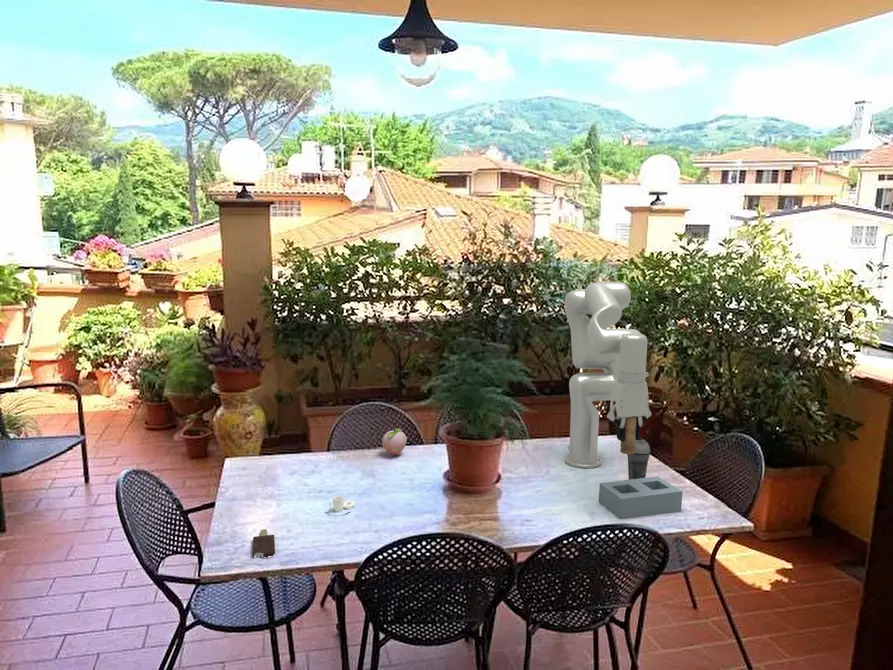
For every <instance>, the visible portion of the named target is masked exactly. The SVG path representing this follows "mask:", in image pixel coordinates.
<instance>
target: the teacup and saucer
mask: <svg viewBox="0 0 893 670" xmlns="http://www.w3.org/2000/svg"><path fill="white" fill-rule="evenodd" d="M344 500H345V498H344V496H341V495H337V496H334V497H332V500H330V501H329V502H328V506H330V507H331V505H333V507H331V508H330V509H332V510H333V511H334V512H336V511H341V512H343V510H344V508H345V510H349V509H350V508H352V509H353V508H354V507H355V505H356V503H355V501H354V500H350V499H349V500H346V501H344ZM331 503H332V504H331Z"/></svg>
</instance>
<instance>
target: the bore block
mask: <svg viewBox="0 0 893 670" xmlns="http://www.w3.org/2000/svg"><path fill="white" fill-rule="evenodd" d="M598 489H599V490H598V503H599V504H600V505H601V506H602V507H604V508H606V509H607V510H608V511H609V512H610V513H612V514H613V515H615V516H616V518H618V519H620V520H625V519H630V518H638V517H639V518H640V517H644V516H653V515H661V514H667V513H669V514H670V513H675V512H681V511H682V504H683V492H684V491H683V490H681V489H680V488H678V487H676V486H675V485H673V484H672V483H670V482H668V481H666V480H665V479H663V478H661V477H660V476H658V475H657V476H648V477H645V478H639V479H630V480H629V479H623V480H616V481H605V482H599V488H598Z"/></svg>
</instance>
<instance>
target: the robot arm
mask: <svg viewBox="0 0 893 670" xmlns="http://www.w3.org/2000/svg"><path fill="white" fill-rule="evenodd" d="M631 293H632V292H631V290H630V287H629V286H628V284H626V283H624V282H621V281H597V282H591V283H590V284H588V285H587V286H586V288H584V289H582V288H581V289H575V290H571V291H569V292H567V293H566V296H565V297H564V311H565V312H564V314H565V316H566V319H567V323H568V324H569V329H570V340H571V342H570V343H571V344H570V345H571V359H572V363H573V365H574V367H575V368H577V369H583V370H584V369H585V370H586V369H588V370H593V369H594V370H597V369H601V370H603V371H604V372H579V373H578V372H577V373H576V374H573V375H572V376H571V377H570V379H569V382H568V383H569V384H568V387H569V388H568V389H569V396H570V425H569V426H570V427H569V444H568V445H567V449H568V450H569V451H568V452H569V453H568V454H566V455H565V456H564V458H563V459H564V462H565V464H567V465H569V466H572V467H575V468H580V469H581V468H583V469H591V468H597V467H599V466H601V464H602V459H601V458H600V457H599V456H598V444H599V443H598V442H599V440H598V439H599V424H600V415H599V414H600V413H599V410H598V409H597V408H596V406H595V405H594V403H593V402H596V401H599V402H600V401H610V403H609V411H608V413H607V415H606V418H607V419H609V420H610V421H611V422H613V424H614V425H615V426H616V438H617V440H618V441H620V442H621V441H622V442H624V441H625V432H626V429H625V428H624V424H625V420H626V418H628V417H632V416H636V417H637V421H636V439H635V440H639V438H640V436H641V427H642V426H643V424H644V423H645V421H646V420H647V419H649V418H650V417H651V416H652V411H651V410H650V407H649V405H650V404H649V399H650V398H649V389H648V383H647V381H646V379H647V377H649V376H650V375H649V374H650V373H649V372H648V371H646V369H647V355H648V338H647V336H646V335H645V334H642V333H641V332H640V331H639V330H638V329H634V328H610V327H612V326H614V325H616V324H618V322H619V321H620V320H621V318H622V314H623V310H625V309H626V308H627V307H629V304H630V302H631V300H632V299H631V298H632V297H631V296H632V294H631ZM587 315H592V316H591V318H590V317H589V316H587ZM615 415H616V416H615Z"/></svg>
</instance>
